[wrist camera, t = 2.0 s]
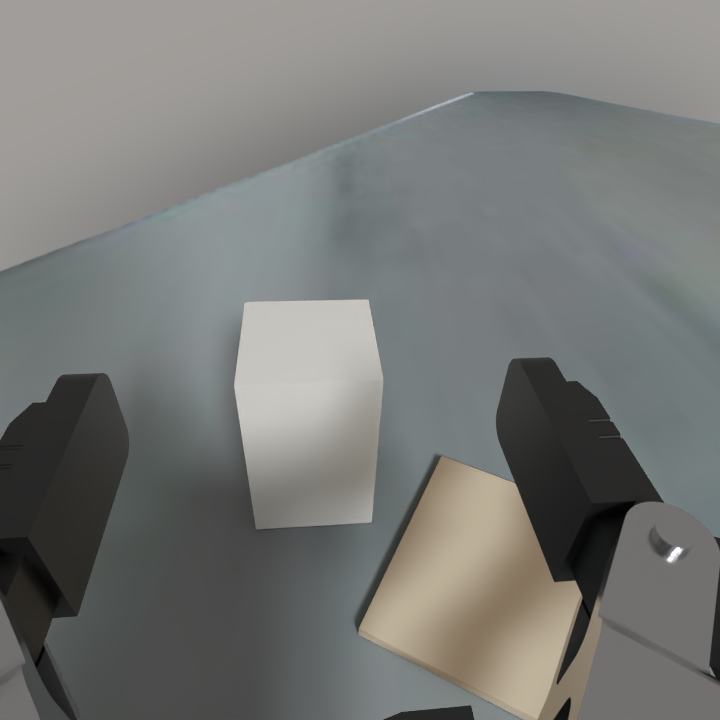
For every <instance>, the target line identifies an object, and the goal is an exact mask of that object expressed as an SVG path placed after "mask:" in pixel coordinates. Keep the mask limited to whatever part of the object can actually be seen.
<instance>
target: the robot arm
mask: <svg viewBox="0 0 720 720" xmlns="http://www.w3.org/2000/svg"><path fill="white" fill-rule="evenodd" d="M496 429H497V435H498V439H499V442H500V445H501V448H502V450H503V453H504V455H505V458H506V460H507V463H508V465H509V468H510V471H511V473H512V476H513V478H514V481H515V483H516V486H517V488H518V491H519V494H520V496H521V499H522V501H523V504H524V506H525V509H526V511H527V514H528V517H529V519H530V522H531V524H532V527H533V529H534V532H535V534H536V537H537V540H538V542H539V545H540V547H541V550H542V552H543V555H544V557H545V560H546V563H547V565H548V568H549V570H550V573H551V575H552V578H553V580H554V582H564V581H576V583H577V585H578V588H579V590H580V592H581V597H580V598H579V601H578V603H577V606H576V609H575V612H574V615H573V619H572V622H571V625H570V628H569V631H568V634H567V638H566V641H565V644H564V647H563V650H562V653H561V656H560V660H559V663H558V666H557V669H556V672H555V675H554V679H553V682H552V685H551V688H550V691H549V694H548V696H547V699H546V701H545V704H544V706H543V708H542V710H541V713H540V715H539V717H538V720H720V538H717V537H713V535H712V534H711V533H710V531H709V530H708V529H707V528H706V527H705V526H704V525H703V524H702V523H701V522H700V521H699V520H698V519H696V518H695V517H694V516H692V515H691V514H689V513H687V512H686V511H684V510H682V509H680V508H678V507H675V506H672V505H670V504H666V503H664V502H663V500H662V499H661V497H660V496H659V494H658V493H657V491H656V489H655V488H654V486H653V485H652V483H651V482H650V480H649V478H648V477H647V475H646V474H645V472H644V471H643V469H642V467H641V466H640V464H639V463H638V461H637V460H636V458H635V456H634V455H633V453H632V452H631V450H630V448H629V447H628V445H627V444H626V442H625V441H624V439H623V438H620V433H619V431H618V430H617V428H616V426H615V425H614V423H613V422H610V417H609V415H608V414H607V412H606V411H605V409H604V408H603V406H602V404H601V403H600V401H599V400H598V398H597V397H596V396H594V395H593V394H592V393H591V392H589V391H588V390H587V389H586V388H585V387H583V386H582V385H581V384H580V383H578V382H577V381H568V382H566V380H565V378H564V377H563V375H562V373H561V372H560V370H559V368H558V367H557V365H556V363H555V362H554V360H553V359H551V358H548V357H547V358H521V359H513V360H512V361H511V362H510V364H509V367H508V370H507V374H506V378H505V382H504V386H503V390H502V394H501V398H500V402H499V406H498V409H497V415H496ZM128 449H129V438H128V431H127V427H126V424H125V421H124V418H123V416H122V413H121V410H120V407H119V404H118V401H117V398H116V395H115V393H114V390H113V387H112V384H111V381H110V379H109V377H108V376H107V375H106V374H104V373H97V374H71V375H62V376H60V377H59V378H58V380H57V382H56V384H55V385H54V387H53V389H52V391H51V393H50V395H49V397H48V399H47V401H46V402H42V403H32V404H31V405H30V406H29V407H28V408H27V409H26V410H24V411H23V412H22V413H21V414H20V415H19V416H18V417H16V418H15V419H14V420H13V421H12V422H11V423H10V424H9V426H8V428H7V429H6V431H5V433H4V435H3V436H2V438H1V440H0V720H82V719H81V717H80V715H79V713H78V710H77V708H76V706H75V704H74V702H73V699H72V697H71V695H70V693H69V691H68V688H67V686H66V684H65V682H64V680H63V677H62V675H61V673H60V671H59V668H58V666H57V664H56V662H55V660H54V657H53V655H52V653H51V651H50V649H49V646H48V644H47V643H46V641H45V638H46V635H47V632H48V629H49V627H50V624H51V621H52V618H60V617H73V616H77V615H78V612H79V609H80V606H81V603H82V600H83V596H84V593H85V590H86V587H87V584H88V581H89V577H90V574H91V571H92V568H93V565H94V562H95V558H96V555H97V552H98V549H99V546H100V543H101V539H102V536H103V533H104V530H105V527H106V524H107V521H108V517H109V514H110V511H111V508H112V505H113V502H114V498H115V495H116V492H117V489H118V486H119V483H120V479H121V476H122V473H123V470H124V467H125V464H126V460H127V456H128ZM709 666H710V667H711V669H712V671H713V673H714V675H715V677H714V676H712V675H710V671H709ZM384 720H474V717H473V712H472V708H471V706H461V707H450V708H439V709H429V710H418V711H408V712H401V713H398V714H396V715H394V716H391V717H389V718H386V719H384Z"/></svg>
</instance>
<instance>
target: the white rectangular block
mask: <svg viewBox="0 0 720 720" xmlns="http://www.w3.org/2000/svg"><path fill="white" fill-rule="evenodd" d="M234 389H235V395H236V402H237V408H238V415H239V421H240V428H241V434H242V441H243V448H244V454H245V461H246V467H247V474H248V480H249V487H250V494H251V500H252V507H253V513H254V520H255V526H256V529H273V528H290V527H306V526H323V525H340V524H357V523H372V512H373V500H374V488H375V476H376V464H377V452H378V440H379V428H380V415H381V403H382V391H383V375H382V370H381V365H380V359H379V354H378V349H377V343H376V338H375V333H374V327H373V322H372V317H371V311H370V306H369V301H368V300H325V301H277V302H245V306H244V313H243V321H242V328H241V336H240V344H239V351H238V359H237V367H236V374H235V382H234Z"/></svg>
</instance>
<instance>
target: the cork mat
mask: <svg viewBox="0 0 720 720" xmlns="http://www.w3.org/2000/svg"><path fill="white" fill-rule="evenodd" d="M580 597H581V592H580V590H579V588H578V585H577V583H576V581H564V582H554V580H553V578H552V575H551V573H550V570H549V568H548V565H547V563H546V560H545V557H544V555H543V552H542V550H541V547H540V545H539V542H538V540H537V537H536V534H535V532H534V529H533V527H532V524H531V522H530V519H529V517H528V514H527V511H526V509H525V506H524V504H523V501H522V499H521V496H520V494H519V491H518V488H517V486H516V484H515V483H513V482H510V481H507V480H505V479H502V478H499V477H497V476H494V475H491V474H489V473H486V472H483V471H481V470H478V469H475V468H473V467H470V466H467V465H465V464H462V463H459V462H457V461H454V460H451V459H449V458H446V457H443V456H441V458H440V460H439V462H438V464H437V466H436V468H435V471H434V473H433V475H432V477H431V479H430V481H429V483H428V485H427V487H426V489H425V491H424V494H423V496H422V498H421V500H420V502H419V504H418V506H417V508H416V510H415V512H414V514H413V516H412V519H411V521H410V523H409V525H408V527H407V529H406V531H405V533H404V535H403V537H402V539H401V541H400V544H399V546H398V548H397V550H396V552H395V554H394V556H393V558H392V560H391V562H390V564H389V567H388V569H387V571H386V573H385V575H384V577H383V579H382V581H381V583H380V585H379V587H378V589H377V592H376V594H375V596H374V598H373V600H372V602H371V604H370V606H369V608H368V610H367V612H366V615H365V617H364V619H363V621H362V623H361V625H360V627H359V632H358V635H360V636H362V637H364V638H366V639H368V640H370V641H372V642H373V643H375V644H377V645H379V646H381V647H383V648H385V649H387V650H389V651H391V652H393V653H395V654H397V655H399V656H401V657H403V658H405V659H407V660H409V661H411V662H412V663H414V664H416V665H418V666H420V667H422V668H424V669H426V670H428V671H430V672H432V673H434V674H436V675H438V676H440V677H442V678H444V679H446V680H448V681H450V682H451V683H453V684H455V685H457V686H459V687H461V688H463V689H465V690H467V691H469V692H471V693H473V694H475V695H477V696H479V697H481V698H483V699H485V700H487V701H489V702H491V703H492V704H494V705H496V706H498V707H500V708H502V709H504V710H506V711H508V712H510V713H512V714H514V715H516V716H518V717H520V718H522V719H524V720H538V717H539V715H540V713H541V710H542V708H543V706H544V704H545V701H546V699H547V696H548V694H549V691H550V688H551V685H552V682H553V679H554V675H555V672H556V669H557V666H558V663H559V660H560V656H561V653H562V650H563V647H564V644H565V641H566V638H567V634H568V631H569V628H570V625H571V622H572V619H573V615H574V612H575V609H576V606H577V603H578V601H579V598H580Z"/></svg>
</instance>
